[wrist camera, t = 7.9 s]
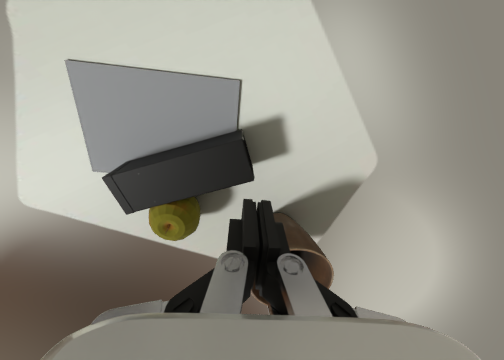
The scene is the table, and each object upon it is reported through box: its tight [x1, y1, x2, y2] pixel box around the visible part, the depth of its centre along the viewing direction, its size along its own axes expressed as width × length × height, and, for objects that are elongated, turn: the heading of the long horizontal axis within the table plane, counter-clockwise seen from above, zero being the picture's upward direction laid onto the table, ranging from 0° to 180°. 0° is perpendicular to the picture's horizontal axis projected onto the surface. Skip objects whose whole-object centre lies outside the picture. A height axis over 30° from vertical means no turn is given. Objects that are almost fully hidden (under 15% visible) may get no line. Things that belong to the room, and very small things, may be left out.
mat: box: [65, 60, 240, 173], centre depth 38 cm, size 20×29×1 cm
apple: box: [149, 197, 200, 241], centre depth 40 cm, size 10×10×11 cm
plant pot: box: [251, 213, 334, 306], centre depth 42 cm, size 15×15×16 cm
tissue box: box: [102, 129, 254, 214], centre depth 38 cm, size 8×8×28 cm
